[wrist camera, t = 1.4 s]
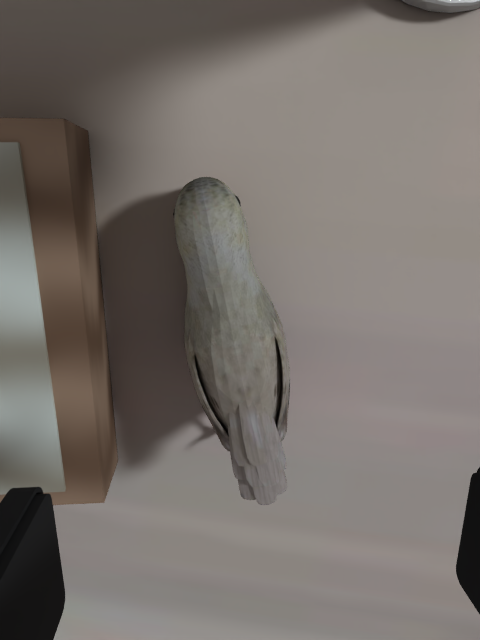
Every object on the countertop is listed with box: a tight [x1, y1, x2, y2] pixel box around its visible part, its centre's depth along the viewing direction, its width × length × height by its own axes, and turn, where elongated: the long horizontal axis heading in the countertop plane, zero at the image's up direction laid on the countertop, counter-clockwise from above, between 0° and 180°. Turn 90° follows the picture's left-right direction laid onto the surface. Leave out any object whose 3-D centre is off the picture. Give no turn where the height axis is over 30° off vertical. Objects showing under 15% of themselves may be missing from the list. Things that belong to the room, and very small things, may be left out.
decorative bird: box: [173, 177, 290, 505], centre depth 23 cm, size 5×16×8 cm, turn 11°
